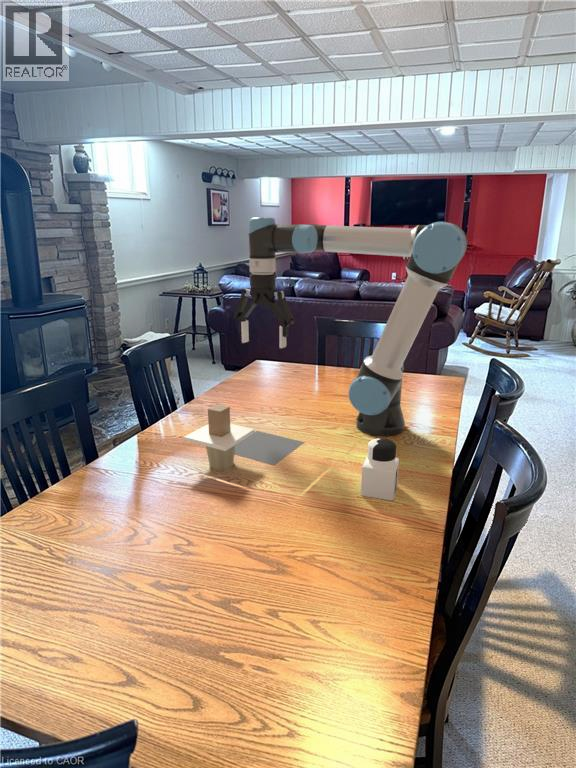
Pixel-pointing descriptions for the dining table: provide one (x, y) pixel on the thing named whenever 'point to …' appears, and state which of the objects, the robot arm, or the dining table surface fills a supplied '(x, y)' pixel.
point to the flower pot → (220, 457)
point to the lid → (219, 430)
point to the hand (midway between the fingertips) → (263, 344)
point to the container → (380, 470)
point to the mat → (266, 447)
